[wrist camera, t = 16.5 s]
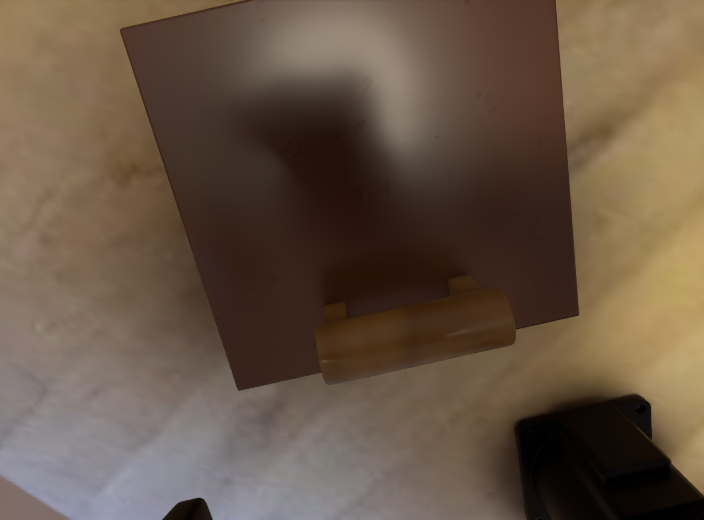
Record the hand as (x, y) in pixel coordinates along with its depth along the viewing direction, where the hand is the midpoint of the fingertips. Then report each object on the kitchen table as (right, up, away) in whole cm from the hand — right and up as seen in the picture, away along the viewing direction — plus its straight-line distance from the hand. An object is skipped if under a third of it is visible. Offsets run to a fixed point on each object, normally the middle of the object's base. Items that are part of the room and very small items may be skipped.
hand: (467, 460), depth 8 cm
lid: (-1, +6, +7) cm, 9 cm away
